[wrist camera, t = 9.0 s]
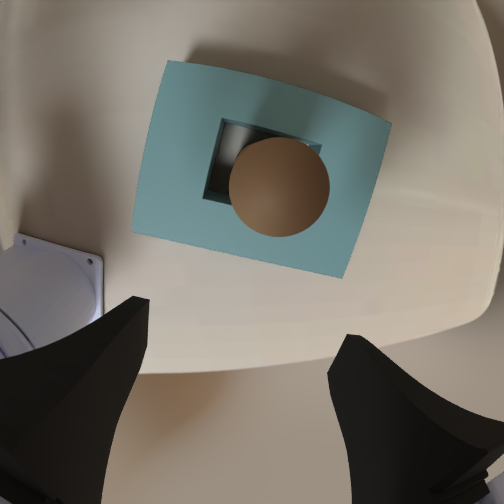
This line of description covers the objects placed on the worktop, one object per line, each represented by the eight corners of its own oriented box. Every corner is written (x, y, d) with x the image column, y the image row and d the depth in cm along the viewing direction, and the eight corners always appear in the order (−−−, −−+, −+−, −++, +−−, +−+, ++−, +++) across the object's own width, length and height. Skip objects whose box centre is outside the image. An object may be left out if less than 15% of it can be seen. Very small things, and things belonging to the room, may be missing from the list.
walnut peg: (230, 183, 18) (218, 224, 9) (241, 137, 17) (243, 125, 8) (275, 194, 18) (313, 246, 9) (287, 149, 17) (341, 154, 8)
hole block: (146, 218, 18) (131, 231, 16) (178, 72, 15) (167, 60, 12) (328, 260, 20) (342, 278, 17) (370, 125, 17) (391, 123, 14)
